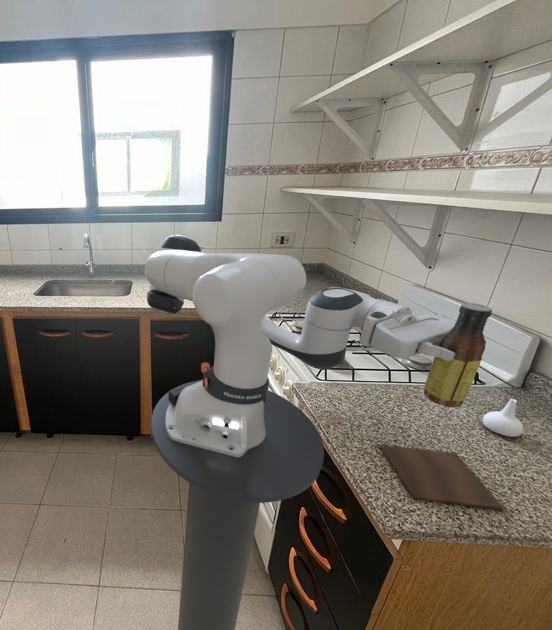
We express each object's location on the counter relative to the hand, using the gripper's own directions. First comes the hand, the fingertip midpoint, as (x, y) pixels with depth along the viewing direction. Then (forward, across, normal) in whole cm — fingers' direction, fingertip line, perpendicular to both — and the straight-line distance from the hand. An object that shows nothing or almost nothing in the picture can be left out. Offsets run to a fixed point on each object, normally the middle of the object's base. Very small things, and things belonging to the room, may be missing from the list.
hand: (466, 352), depth 63 cm
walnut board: (+5, +5, -24) cm, 25 cm away
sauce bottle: (-1, 0, -11) cm, 11 cm away
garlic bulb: (+3, -23, -24) cm, 33 cm away
